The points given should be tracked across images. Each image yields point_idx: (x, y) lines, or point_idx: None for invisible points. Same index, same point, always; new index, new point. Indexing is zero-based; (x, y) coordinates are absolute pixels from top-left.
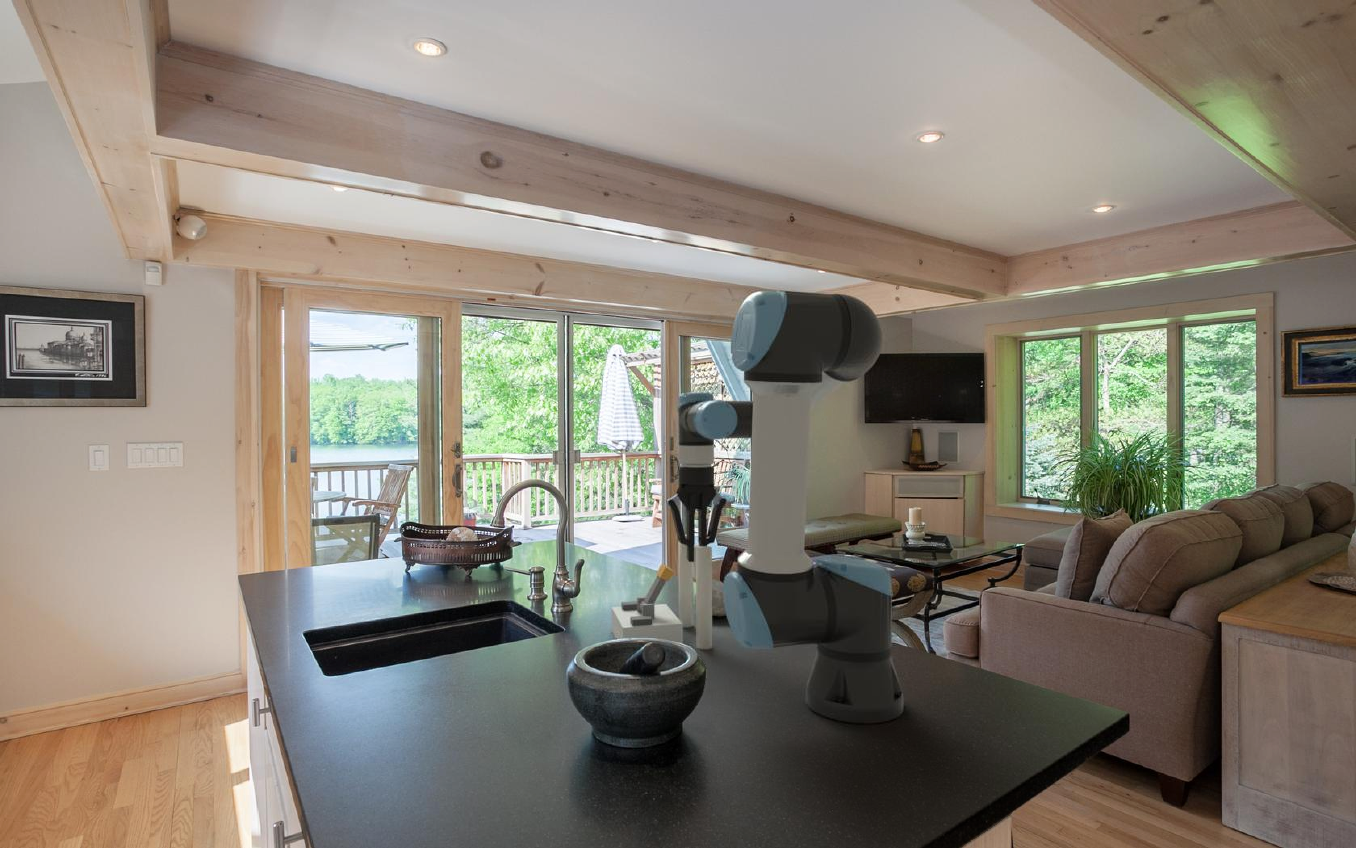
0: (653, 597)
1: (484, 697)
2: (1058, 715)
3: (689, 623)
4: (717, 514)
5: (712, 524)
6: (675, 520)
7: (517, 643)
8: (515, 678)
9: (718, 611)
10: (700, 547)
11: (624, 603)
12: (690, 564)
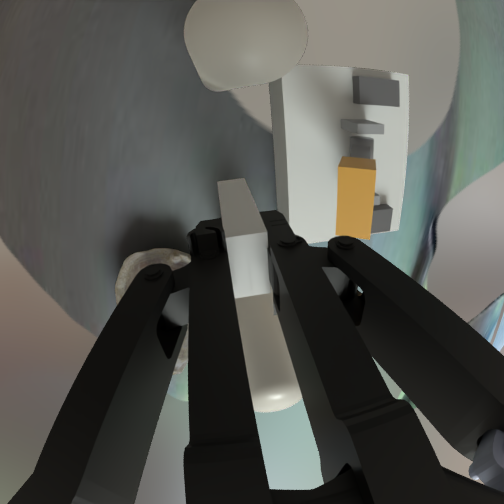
0: (361, 151)
1: (499, 8)
2: None
3: None
4: (76, 436)
5: (135, 365)
6: (463, 330)
7: (483, 173)
8: (488, 41)
9: (162, 251)
10: (274, 34)
11: (387, 219)
12: (243, 305)
